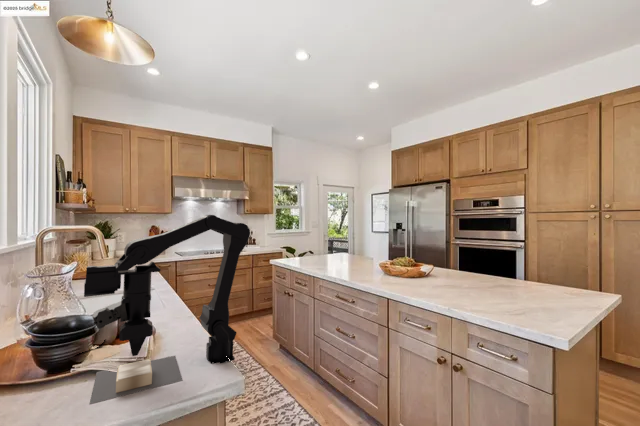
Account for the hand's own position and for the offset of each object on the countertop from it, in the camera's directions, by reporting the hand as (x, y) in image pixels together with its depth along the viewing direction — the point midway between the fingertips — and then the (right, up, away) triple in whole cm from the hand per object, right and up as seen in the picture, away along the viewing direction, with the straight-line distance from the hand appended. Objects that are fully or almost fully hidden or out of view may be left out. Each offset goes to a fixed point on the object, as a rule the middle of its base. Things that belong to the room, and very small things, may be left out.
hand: (135, 355), depth 71 cm
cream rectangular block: (-2, -5, +3) cm, 6 cm away
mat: (0, -7, +1) cm, 7 cm away
